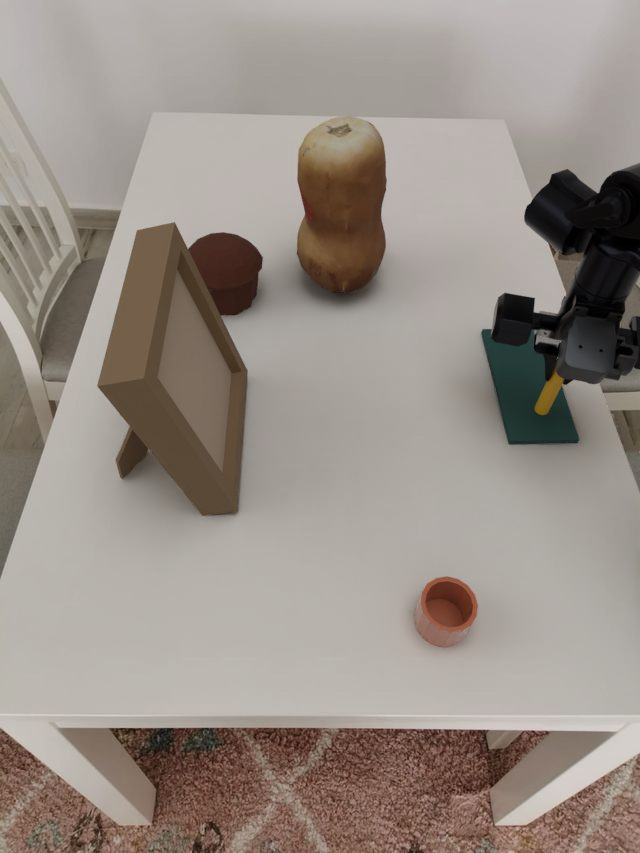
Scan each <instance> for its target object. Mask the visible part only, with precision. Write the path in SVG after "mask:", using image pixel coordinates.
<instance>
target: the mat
mask: <svg viewBox="0 0 640 853" xmlns="http://www.w3.org/2000/svg"><path fill="white" fill-rule="evenodd" d="M491 331H492V328H482V329H481V338H482V341H483V346H484V349H485V353H486V357H487V362H488V366H489V369H490V374H491V378H492V383H493V386H494V390H495V395H496V398H497V402H498V407H499V410H500V415H501V418H502V424H503V427H504V431H505V436H506V439H507V444H508V445H547V444H549V445H550V444H551V445H553V444H555V445H556V444H578V443H579V442H580V436H579V433H578V430H577V428H576V424H575V421H574V419H573V415H572V412H571V409H570V406H569V403H568V400H567V396H566V393H565V391H564V388H563V385H562V386H561V388H560V390H559V392H558V394H557V396H556V398H555V400H554V402H553V404H552V406H551V408H550V410H549V412H548V414H546V415H539V414H537V413H536V412H535V405H536V403H537V401H538V399H539V397H540V395H541V393H542V390H543V388H544V386H545V384H546V382H547V381H545V360H544V356H543V355H542V354H538V353H535V352H534V351H533V337H534V330H531V334H530V337H529V340H528V342H527V343H526V344H524V345H521V346H519V347H517V346H512V345H507V344H501V343H496V342H494V341H493V340H492V339H491Z"/></svg>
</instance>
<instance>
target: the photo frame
mask: <svg viewBox="0 0 640 853" xmlns="http://www.w3.org/2000/svg"><path fill="white" fill-rule="evenodd" d="M188 248H189V247H188V246H187V244H186V241H185V240H184V238H183V235H182V234H181V231H180V230H179V227H178V225H177V223H176V222H175V221H174V222H173V221H172V222H169V223H165V224H159V225H154V226H150V227H146V228H140V229H136V233H135V237H134V240H133V244H132V248H131V252H130V256H129V260H128V264H127V268H126V272H125V276H124V279H123V284H122V287H121V291H120V295H119V299H118V303H117V307H116V310H115V314H114V318H113V322H112V327H111V329H110V330H111V331H110V334H109V338H108V342H107V345H106V346H107V347H106V351H105V354H104V357H103V362H102V365H101V369H100V374H99V378H98V382H97V385H96V386H97V388H98V389H99V390H100V391H101V393H102V394H103V396H105V398H106V399H107V400H108V401H109V403H110V404H111V405H112V407H113V408H114V409H115V410H116V411H117V413H119V415H120V416H121V417H122V419H123V420H124V421H125V422H126V423H127V425H128V426H129V427H128V430H127V432H126V434H125V437H124V439H123V442H122V444H121V447H120V449H119V451H118V453H117V456H116V458H115V463H116V467H117V471H118V474H119V478H120V479H122V480H124V479H125V478H126V477H127V476H128V475H129V474H130V472H131V471H133V470H134V468H136V467H137V465H138V464H140V462H141V461H142V460H143V459H144V458H146V456H147V455H148V452H150V453H151V454H152V456H153V457H154V459H156V460H157V462H158V463H159V465H160V466H162V467H163V469H164V470H165V471H166V473H167V474H168V475H169V476H170V478H171V479H172V480H173V481H174V482H175V483H176V485H177V486H178V488H180V490H181V491H182V492H183V493H184V495H185V496H186V497H187V499H188V500H189V501H190V502H191V503H192V505H193V506H194V508H196V510H197V511H198V512H199V513H200V514H201V515H202V517H203V516H213V515H219V514H220V515H221V514H226V513H228V514H229V513H236V512H238V511H239V501H240V500H239V499H240V486H241V470H242V456H243V445H244V442H243V441H244V431H245V430H244V428H245V414H246V402H247V401H246V399H247V388H248V387H247V386H248V385H247V384H248V372H249V370H248V369H247V366H246V365H245V362H244V360H243V359H242V357H241V354H240V353H239V350H238V349H237V345H236V344H235V342H234V340H233V338H232V336H231V334H230V332H229V330H228V327H227V325H226V324H225V321H224V320H223V317H222V316H221V315H220V313H219V311H218V309H217V307H216V305H215V303H214V301H213V299H212V297H211V295H210V293H209V291H208V289H207V287H206V285H205V283H204V281H203V279H202V277H201V275H200V273H199V270H198V268H197V266H196V264H195V262H194V260H193V258H192V256H191V254H190V252H189V250H188Z"/></svg>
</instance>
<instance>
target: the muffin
mask: <svg viewBox="0 0 640 853" xmlns="http://www.w3.org/2000/svg"><path fill="white" fill-rule="evenodd" d="M187 248H188V250H189V252H190V254H191V256H192V258H193V260H194V262H195V264H196V266H197V268H198V270H199V273H200V275H201V277H202V279H203V281H204V283H205V285H206V287H207V289H208V291H209V293H210V295H211V297H212V299H213V301H214V303H215V305H216V307H217V309H218V311H219V313H220V315H221V317H222V316H237V315H239V314H240V313H242V312H244V311H246V310H247V309H249V308H252V305H253V302H254V300H255V298H256V297H257V294H258V293H257V292H258V284H259V274H260V272H261V271H262V269H263V262H264V256H263V255H262V254H261V252H260V250H259V249H258V247H257V246H255V245H254V244H253V243H252V242H251V241H249V240H248V239H246V238H244V237H242V236H241V235H238V234H237V233H230V232H224V231H221V232H212V233H209V234H206V235H203V236H201V237H199V238H197V239H196V240H195V241H194V242H193V243H192V244H191V245H190V246H189V247H187Z"/></svg>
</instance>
